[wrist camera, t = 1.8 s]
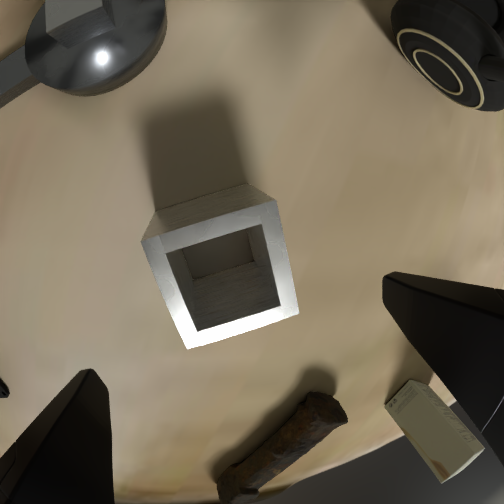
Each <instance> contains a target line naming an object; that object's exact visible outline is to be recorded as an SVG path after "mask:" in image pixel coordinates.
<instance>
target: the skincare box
mask: <svg viewBox="0 0 504 504" xmlns="http://www.w3.org/2000/svg"><path fill="white" fill-rule="evenodd" d="M385 409H386V410H387V411H388V413H389V414H390V415H391V417H392V418H393V419H394V420H395V422H396V423H397V424H398V426H399V427H400V428H401V430H402V431H403V432H404V434H405V435H406V436H407V438H408V439H409V440H410V442H411V443H412V444H413V446H414V447H415V448H416V450H417V451H418V452H419V454H420V455H421V456H422V458H423V459H424V461H425V462H426V463H427V465H428V466H429V467H430V469H431V470H432V471H433V473H434V474H435V476H436V477H437V478H438V480H439V481H440V483H443V482H445V481H446V480H448V479H450V478H451V477H453V476H455V475H456V474H458V473H459V472H460V471H461V470H463V469H464V468H465V467H466V466H467V465H469V464H470V463H471V462H472V461H473V460H474V459H475V458H476V457H477V456H478V455H479V454H480V453H481V452H482V451H483V450H484V449H485V448H484V447H483V446H482V444H481V443H480V442H479V441H478V440H477V439H476V438H475V436H474V435H473V434H472V433H471V432H470V431H469V430H468V428H467V427H466V426H465V425H464V424H463V423H462V422H461V421H460V419H459V418H458V417H457V416H456V415H455V414H454V413H453V412H452V411H451V409H450V408H449V407H448V406H447V405H446V404H445V403H444V402H443V401H442V400H441V398H440V397H439V396H438V395H437V394H436V393H435V392H434V391H433V390H432V389H431V388H430V387H429V386H428V385H426V384H423V383H420V382H417V381H413V380H409V381H408V382H407V383H406V384H405V386H404V387H403V388H402V389H401V390H400V391H399V392H398V393H397V394H396V395H395V396H394V397H393V398H392V399H391V400H390V401H389V402H388V403H387V404H386V405H385Z"/></svg>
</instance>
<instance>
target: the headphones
mask: <svg viewBox="0 0 504 504" xmlns="http://www.w3.org/2000/svg"><path fill="white" fill-rule="evenodd" d="M391 21H392V27H393V31H394V34H395V37H396V39H397V43H398V45H399V48H400V50H401V52H402V53H403V55H404V56H405V58H406V59H407V60H408V62H409V63H410V64H411V65H412V67H413V68H414V69H415V70H416V71H417V72H418V73H419V74H420V75H421V76H422V77H423V78H424V79H425V80H426V81H427V82H429V83H430V84H431V85H432V86H433V87H434V88H436V89H437V90H438V91H439V92H441V93H442V94H443V95H445V96H446V97H447V98H449V99H451V100H452V101H454V102H456V103H457V104H459V105H461V106H464V107H466V108H470V109H476V110H480V111H500V110H503V109H504V0H398V1H397V2H396V4H395V5H394V7H393V9H392V11H391Z"/></svg>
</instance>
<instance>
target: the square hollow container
mask: <svg viewBox="0 0 504 504" xmlns="http://www.w3.org/2000/svg"><path fill="white" fill-rule="evenodd" d="M245 228H246V231H247V235H248V239H249V242H250V246H251V250H252V254H253V258H254V261H252V262H249V263H246V264H243V265H240V266H236V267H233V268H230V269H227V270H224V271H220V272H217V273H214V274H211V275H208V276H204V277H201V278H198V279H195V280H193V279H192V276H191V273H190V270H189V268H188V265H187V262H186V259H185V257H184V254H183V251H182V248H184V247H187V246H190V245H193V244H196V243H200V242H203V241H206V240H209V239H213V238H216V237H219V236H222V235H226V234H229V233H232V232H235V231H239V230H242V229H245ZM141 244H142V246H143V249H144V252H145V254H146V257H147V259H148V262H149V264H150V267H151V269H152V272H153V274H154V277H155V279H156V282H157V284H158V286H159V289H160V291H161V293H162V296H163V298H164V300H165V302H166V305H167V307H168V309H169V311H170V314H171V316H172V318H173V320H174V322H175V325H176V327H177V329H178V331H179V333H180V335H181V337H182V339H183V341H184V343H185V345H186V347H187V349H189V348H193V347H196V346H200V345H203V344H207V343H210V342H214V341H217V340H220V339H224V338H227V337H230V336H233V335H237V334H240V333H243V332H246V331H249V330H252V329H255V328H258V327H261V326H264V325H267V324H270V323H273V322H276V321H279V320H282V319H285V318H288V317H291V316H293V315H296V314H299V309H298V304H297V299H296V294H295V288H294V283H293V278H292V273H291V268H290V263H289V258H288V253H287V249H286V244H285V239H284V234H283V230H282V225H281V220H280V216H279V211H278V207H277V202H276V200H275V199H274V198H272V197H270V196H269V195H267V194H265V193H264V192H262V191H260V190H259V189H257V188H255V187H253V186H252V185H250V184H248V183H247V184H244V185H240V186H236V187H233V188H229V189H226V190H222V191H219V192H216V193H212V194H209V195H206V196H202V197H199V198H196V199H192V200H189V201H186V202H183V203H180V204H177V205H174V206H170V207H167V208H164V209H161V210H158V211H155V213H154V215H153V217H152V219H151V221H150V223H149V225H148V227H147V229H146V231H145V233H144V235H143V237H142V240H141Z"/></svg>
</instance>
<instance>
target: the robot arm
mask: <svg viewBox="0 0 504 504" xmlns="http://www.w3.org/2000/svg"><path fill="white" fill-rule="evenodd" d="M382 299H383V303H384V305H385V307H386V309H387V310H388V311H389V313H390V314H391V316H392V317H393V319H394V320H395V322H396V323H397V324H398V326H399V327H400V329H401V330H402V332H403V333H404V335H405V336H406V338H407V339H408V340H409V342H410V343H411V344H412V345H413V347H414V348H415V349H416V350H417V351H418V353H419V354H420V355H421V356H422V357H423V359H424V360H425V361H426V362H427V363H428V365H429V366H430V367H431V368H432V370H433V371H434V372H435V373H436V375H437V376H438V377H439V378H440V380H441V381H442V382H443V383H444V385H445V386H446V387H447V388H448V390H449V391H450V392H451V394H452V395H453V396H454V397H455V399H456V400H457V401H458V403H459V404H460V405H461V407H462V408H463V409H464V411H465V412H466V413H467V415H468V416H469V417H470V419H471V420H472V421H473V423H474V424H475V426H476V427H477V428H478V430H479V431H480V432H482V433H481V434H482V436H483V437H484V438H485V440H486V441H487V443H488V444H489V446H490V447H491V448H492V450H493V451H494V453H495V454H496V456H497V457H498V459H499V460H500V462H501V463H502V465H503V467H504V290H502V289H494V288H490V287H484V286H479V285H473V284H467V283H461V282H455V281H449V280H443V279H437V278H431V277H425V276H419V275H413V274H407V273H401V272H392V273H389V274H387V275H385V276H384V277H383V280H382ZM9 394H10V393H9V391H8V389H7V388H6V387H5V386H4V384H3V383H2V382H1V381H0V398H7V397H8V396H9ZM0 504H115V502H114V489H113V469H112V430H111V419H110V405H109V392H108V389H107V387H106V385H105V384H104V383H103V381H102V380H101V379H100V377H99V376H98V375H97V373H96V372H95V371H94V370H93V369H91V368H90V369H85V370H81V371H79V372H78V373H77V374H76V376H75V377H74V378H73V379H72V380H71V381H70V382H69V383H68V384H67V385H66V386H65V387H64V388H63V389H62V390H61V391H60V392H59V393H58V395H57V396H56V397H55V398H54V399H53V400H52V401H51V402H50V403H49V404H48V405H47V406H46V408H45V409H44V410H43V411H42V412H41V413H40V414H39V415H38V416H37V417H36V418H35V420H34V421H33V422H32V423H31V424H30V425H29V426H28V427H27V429H26V430H25V431H24V432H23V433H22V434H21V435H20V436H19V438H18V439H17V440H16V442H14V443H13V444H12V446H11V447H10V448H9V449H8V450H7V451H6V452H5V453H4V455H3V456H2V457H1V458H0Z"/></svg>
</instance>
